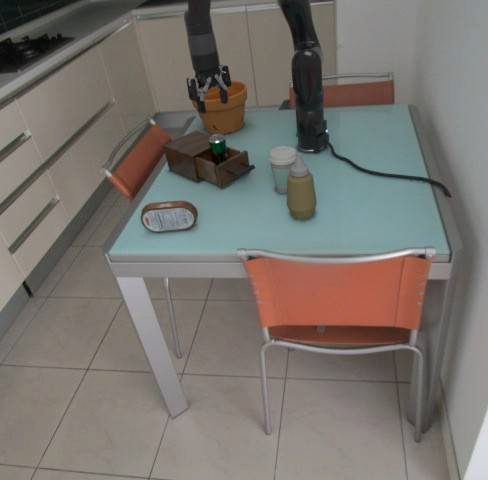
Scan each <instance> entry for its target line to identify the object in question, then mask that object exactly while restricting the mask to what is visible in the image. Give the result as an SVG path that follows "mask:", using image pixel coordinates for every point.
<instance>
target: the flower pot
mask: <svg viewBox="0 0 488 480" xmlns="http://www.w3.org/2000/svg"><path fill="white" fill-rule="evenodd" d="M231 83H232V85H231V86H229V87H228V89H227V96H228V103H226V104H223V103H221V99H220V93H219V91H220V89H219V88H218V87H217V86H215V87H212V88H211V89H208V90H207V93H206V94H205V96H204V99H203V100H204V102H205V107H206V113H205V114H202V113H200V112H199V111H198V107H197V102H196V101H193V100H190V101H191V103H192V107H193V108H194V109H195V110H196V111H197V113H198V116H199V118H200V120H201V122H202V124H203V126H204V128H205V130H206V132H208V133H209V134H210V135H213V134H218V133H219V134H223V135H227V134H231V133H235V132H237V131H239V130H241V129H242V127H243V126H244V119H245V108H246V101H247V100H248V88H247V85H246V83H245V82H243V81H238V80H231ZM201 89H203V88H202V87H201ZM200 94H201V93H200Z"/></svg>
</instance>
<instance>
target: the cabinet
mask: <svg viewBox="0 0 488 480" xmlns="http://www.w3.org/2000/svg"><path fill="white" fill-rule="evenodd" d="M211 135H212V134H210V133H209V134H208V133H205V132H203V131H199V130H197V129H195V130H193V131H191V132H189V133H187V134H184V135H182V136H179V137H178V138H176V139H174V140H171V141H169V142H168V143H165V144H163V150H164V154H165V159H166V162H167V166H168V170H169V172H172V173H174V174H176V175H179V176H181V177H184V178H186V179H188V180H190V181H193V182H195V183H197V184H198V183H200V182H202V181H204V180H205V179H203V178H200V177H199V176H198V171H197V166H196V162H195V157H197V156H199V155H201V154H203V153H205V152H207V151H209V150H210V146H209V137H210V136H211Z"/></svg>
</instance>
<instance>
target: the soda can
mask: <svg viewBox="0 0 488 480" xmlns="http://www.w3.org/2000/svg"><path fill="white" fill-rule="evenodd" d="M210 135H211V136H210V137H209V146H210V151H211V156H212V162H213V163H215V164H216V166H217V165H218V164H220V163H222V162H224V161H226V160H228V159H229V158H228V152H227V146H228V145H227V141H226V137H225V134H219V133H218V134H210Z"/></svg>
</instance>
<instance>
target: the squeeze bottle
mask: <svg viewBox="0 0 488 480" xmlns="http://www.w3.org/2000/svg"><path fill="white" fill-rule="evenodd" d="M309 170H310V168H309V165H308V164H306V163H304V160H303V156H302V153H300V152H297V154H296V159H295V164H294V165H292V166H291V168H290V171H291V173H290V174H289V175H288V178H287V193H286V207H287V209H288V210H289V213H290V215H291V216H292V218H293V219H295V220H298V221H304V220H308V219H310V218H312V217H313V215H314V213H315V210H316V207H317V202H318V201H317V195H316V188H315V181H314V176H313V174H312V173H311V172H310V171H309Z"/></svg>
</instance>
